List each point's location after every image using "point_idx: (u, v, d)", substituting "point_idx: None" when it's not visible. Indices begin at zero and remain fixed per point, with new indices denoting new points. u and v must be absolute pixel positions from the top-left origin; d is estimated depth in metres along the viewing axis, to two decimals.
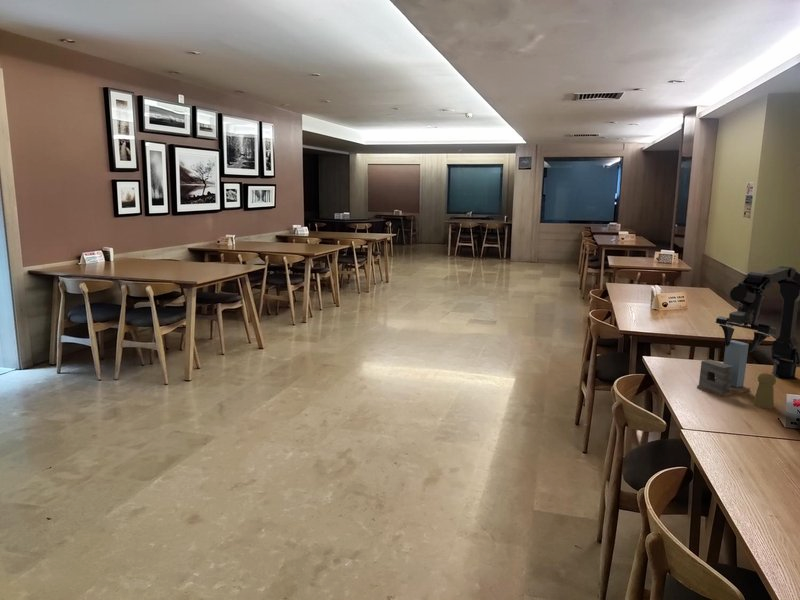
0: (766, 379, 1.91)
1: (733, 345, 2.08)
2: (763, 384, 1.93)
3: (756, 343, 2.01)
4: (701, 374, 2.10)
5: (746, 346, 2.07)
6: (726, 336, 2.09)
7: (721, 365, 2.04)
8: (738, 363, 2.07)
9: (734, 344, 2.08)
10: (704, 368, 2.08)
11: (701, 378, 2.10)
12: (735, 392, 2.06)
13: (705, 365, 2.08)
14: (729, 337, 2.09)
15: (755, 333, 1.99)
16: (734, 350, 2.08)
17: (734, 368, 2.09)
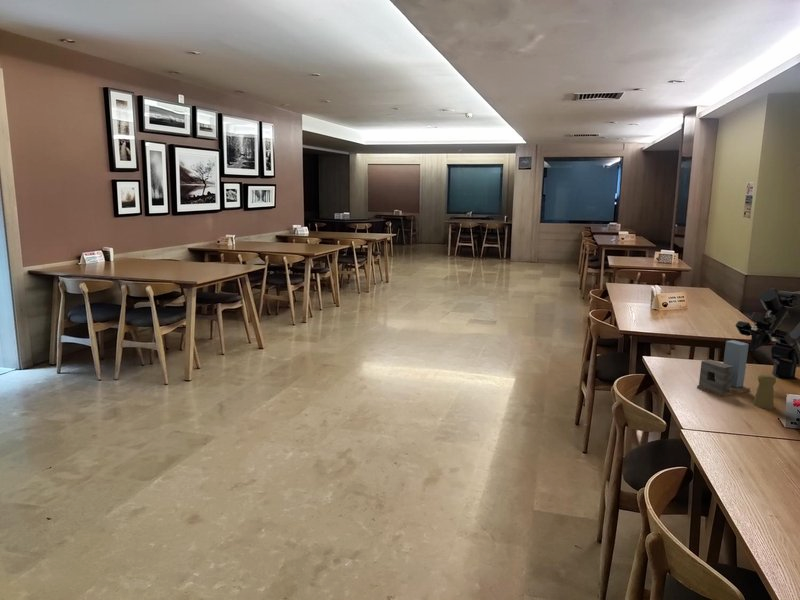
0: (766, 379, 1.91)
1: (733, 345, 2.08)
2: (763, 384, 1.93)
3: (758, 343, 2.13)
4: (701, 374, 2.10)
5: (746, 346, 2.07)
6: (753, 341, 2.14)
7: (721, 365, 2.04)
8: (738, 363, 2.07)
9: (734, 344, 2.08)
10: (704, 368, 2.08)
11: (701, 378, 2.10)
12: (735, 392, 2.06)
13: (705, 365, 2.08)
14: None
15: (761, 332, 2.12)
16: (734, 350, 2.08)
17: (734, 368, 2.09)
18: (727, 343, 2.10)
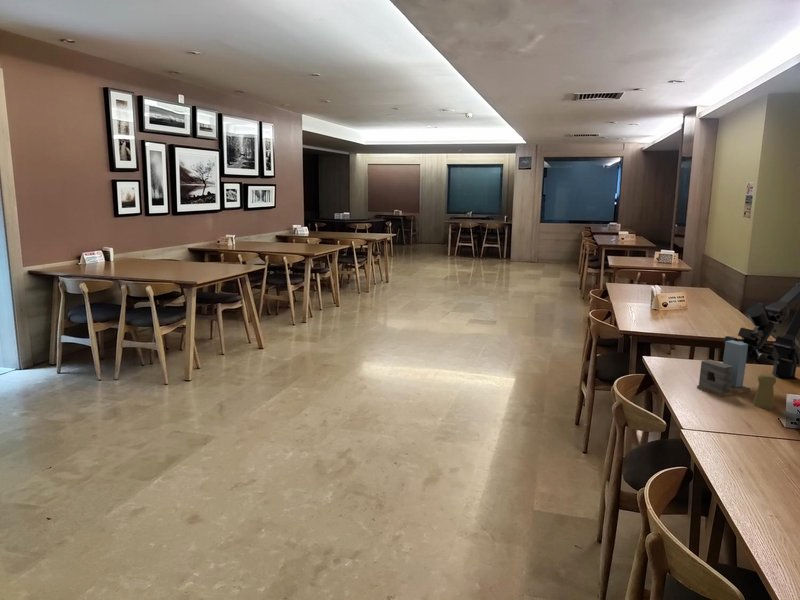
0: (766, 379, 1.91)
1: (733, 345, 2.08)
2: (763, 384, 1.93)
3: None
4: (701, 374, 2.10)
5: (745, 346, 2.07)
6: None
7: (721, 365, 2.04)
8: (737, 363, 2.07)
9: (733, 344, 2.08)
10: (704, 368, 2.08)
11: (701, 378, 2.10)
12: (735, 392, 2.06)
13: (705, 365, 2.08)
14: None
15: (748, 348, 2.10)
16: (733, 350, 2.08)
17: (733, 368, 2.09)
18: (726, 343, 2.10)
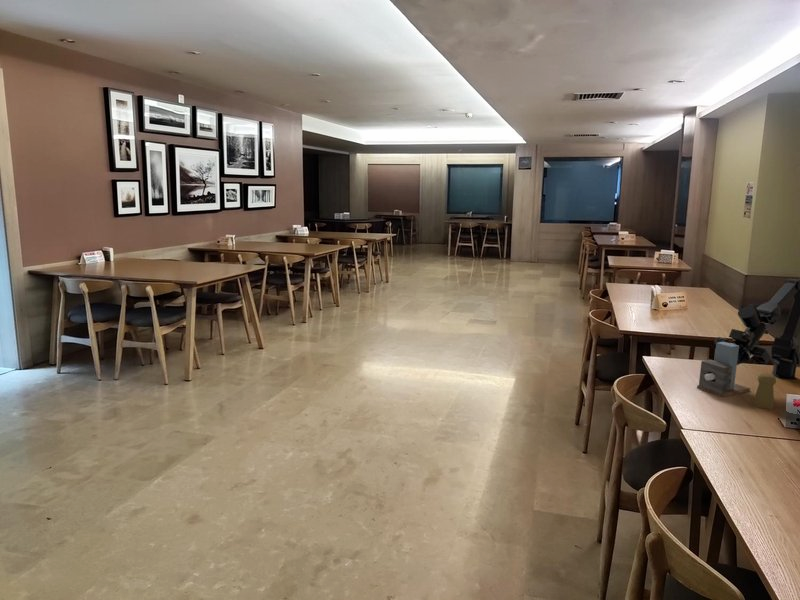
0: (766, 379, 1.91)
1: (723, 347, 2.06)
2: (763, 384, 1.93)
3: None
4: (701, 374, 2.10)
5: (736, 348, 2.05)
6: None
7: (721, 365, 2.04)
8: None
9: (724, 346, 2.06)
10: (704, 368, 2.08)
11: (701, 378, 2.10)
12: (735, 392, 2.06)
13: (705, 365, 2.08)
14: None
15: (739, 350, 2.08)
16: (724, 351, 2.06)
17: None
18: (717, 345, 2.08)
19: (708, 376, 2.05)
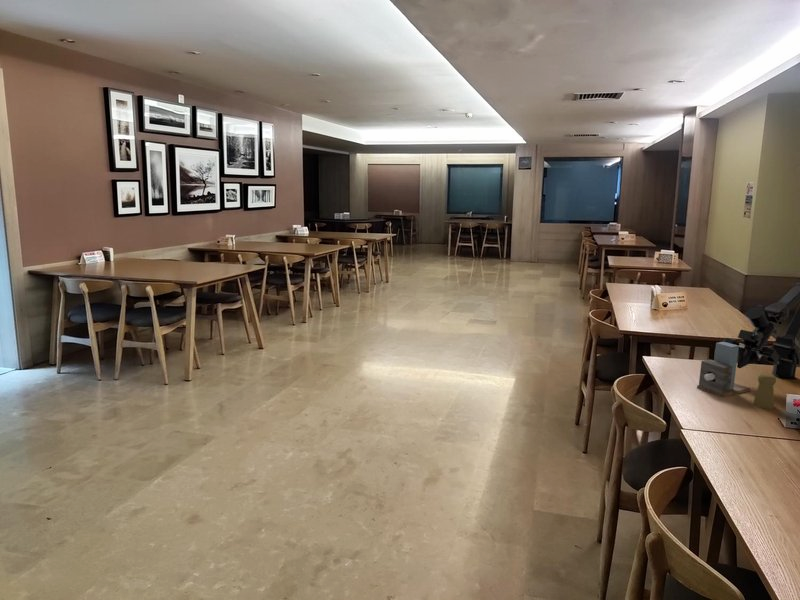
0: (766, 379, 1.91)
1: (723, 347, 2.06)
2: (763, 384, 1.93)
3: (746, 361, 2.11)
4: (701, 374, 2.10)
5: (736, 348, 2.05)
6: (740, 358, 2.13)
7: (721, 365, 2.04)
8: None
9: (724, 346, 2.06)
10: (704, 368, 2.08)
11: (701, 378, 2.10)
12: (735, 392, 2.06)
13: (705, 365, 2.08)
14: None
15: (748, 350, 2.11)
16: (724, 351, 2.06)
17: None
18: (717, 345, 2.08)
19: (708, 376, 2.05)
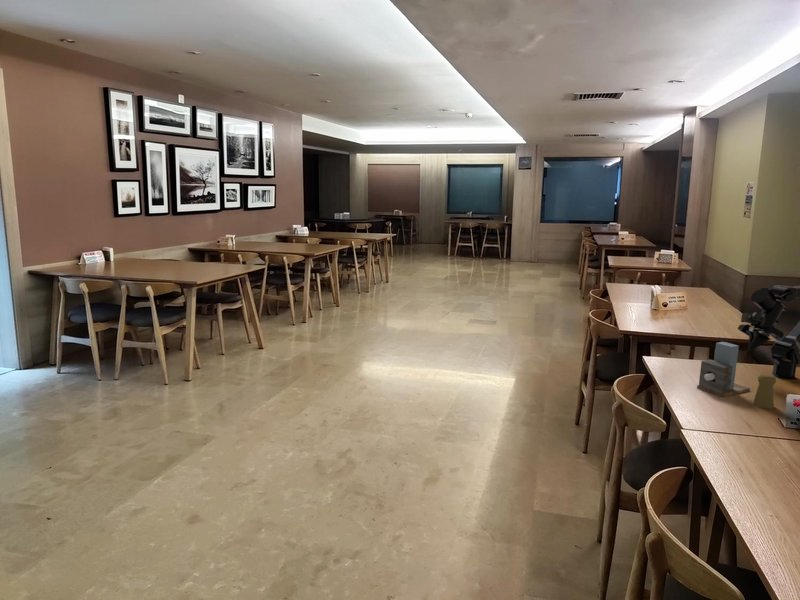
0: (766, 379, 1.91)
1: (723, 347, 2.06)
2: (763, 384, 1.93)
3: (755, 343, 2.15)
4: (701, 374, 2.10)
5: (736, 348, 2.05)
6: (750, 341, 2.17)
7: (721, 365, 2.04)
8: None
9: (724, 346, 2.06)
10: (704, 368, 2.08)
11: (701, 378, 2.10)
12: (735, 392, 2.06)
13: (705, 365, 2.08)
14: None
15: (753, 332, 2.15)
16: (724, 351, 2.06)
17: None
18: (717, 345, 2.08)
19: (708, 376, 2.05)
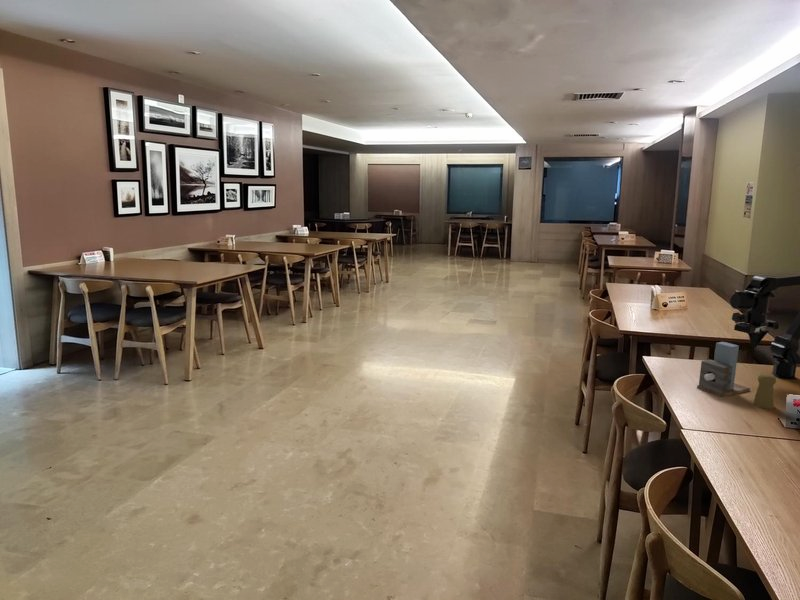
0: (766, 379, 1.91)
1: (723, 347, 2.06)
2: (763, 384, 1.93)
3: (751, 339, 2.22)
4: (701, 374, 2.10)
5: (736, 348, 2.05)
6: None
7: (721, 365, 2.04)
8: None
9: (724, 346, 2.06)
10: (704, 368, 2.08)
11: (701, 378, 2.10)
12: (735, 392, 2.06)
13: (705, 365, 2.08)
14: None
15: None
16: (724, 351, 2.06)
17: None
18: (717, 345, 2.08)
19: (708, 376, 2.05)
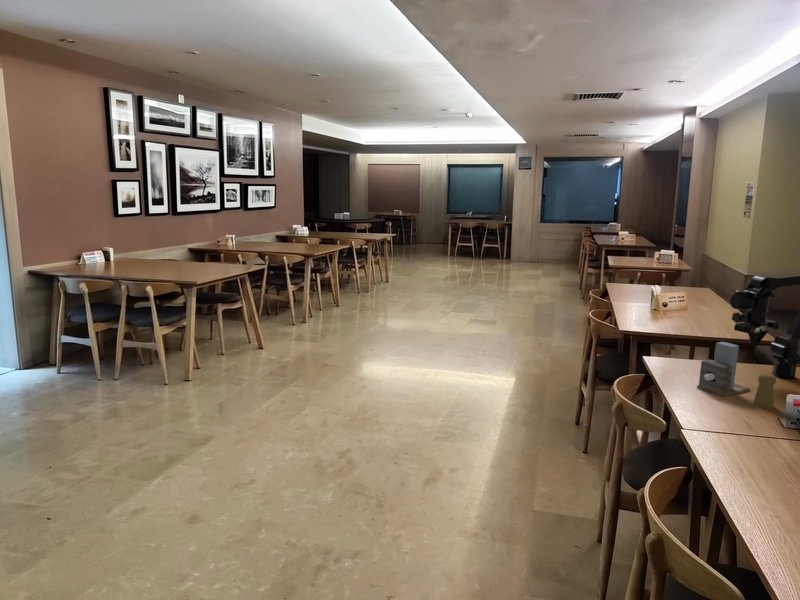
0: (766, 379, 1.91)
1: (723, 347, 2.06)
2: (763, 384, 1.93)
3: (751, 339, 2.22)
4: (701, 374, 2.10)
5: (736, 348, 2.05)
6: None
7: (721, 365, 2.04)
8: None
9: (724, 346, 2.06)
10: (704, 368, 2.08)
11: (701, 378, 2.10)
12: (735, 392, 2.06)
13: (705, 365, 2.08)
14: None
15: None
16: (724, 351, 2.06)
17: None
18: (717, 345, 2.08)
19: (708, 376, 2.05)
